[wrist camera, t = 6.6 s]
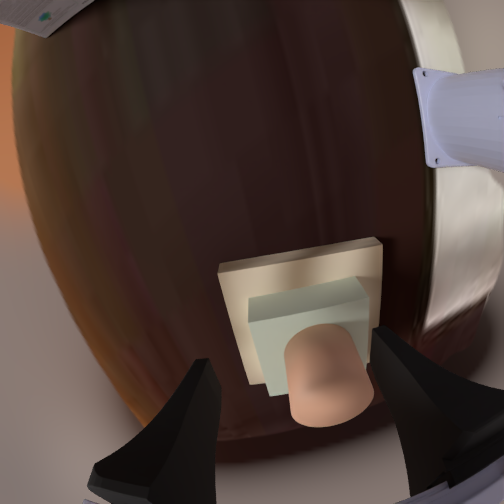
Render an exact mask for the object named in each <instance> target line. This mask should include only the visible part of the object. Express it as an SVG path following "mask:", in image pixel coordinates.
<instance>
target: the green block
mask: <svg viewBox="0 0 504 504" xmlns="http://www.w3.org/2000/svg"><path fill="white" fill-rule="evenodd" d="M248 324H249V328H250V331H251V335H252V338H253V342H254V345H255V348H256V352H257V355H258V359H259V362H260V365H261V369H262V372H263V375H264V379H265V382H266V385H267V388H268V392H269V395H270V396H275V395H282V394H287V393H289V391H288V383H287V375H286V367H285V359H284V351H285V347H286V345H287V343H288V342H289V340H290V339H291V338H292V337H293V336H294V335H295V334H297V333H298V332H300V331H301V330H303V329H305V328H307V327H310V326H313V325H317V324H335V325H338V326H341V327H343V328H345V329H346V330H347V331H348V332H349V333H350V335H351V337H352V339H353V342H354V344H355V346H356V349H357V351H358V353H359V355H360V358H361V360H362V363H363V365H364V367H365V370H366V363H367V349H368V330H369V296H368V295H367V293H366V292H365V290H364V288H363V287H362V285H361V284H360V282H359V281H358V279H357V278H356V277H355V276H353V277H348V278H344V279H339V280H335V281H330V282H326V283H321V284H316V285H312V286H307V287H302V288H297V289H292V290H287V291H282V292H277V293H272V294H267V295H262V296H256V297H251V298H248Z"/></svg>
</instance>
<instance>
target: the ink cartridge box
mask: <svg viewBox="0 0 504 504" xmlns="http://www.w3.org/2000/svg"><path fill="white" fill-rule="evenodd" d="M93 1H94V0H0V23H1V24H4V25H8V26H11V27H15V28H18V29H21V30H24V31H27V32H30V33H33V34H36V35H39V36H42V37H44V38H47V37H48V36H49V35H51V34H52V33H53V32H54V31H55V30H56V29H57V28H59V27H60V26H61V25H62V24H63V23H65V22H66V21H67V20H68V19H70V18H71V17H72V16H74V15H75V14H76V13H78V12H79V11H80V10H82V9H83V8H84V7H86V6H87V5H89V4H90V3H91V2H93Z"/></svg>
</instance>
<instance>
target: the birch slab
mask: <svg viewBox="0 0 504 504" xmlns="http://www.w3.org/2000/svg"><path fill="white" fill-rule="evenodd" d="M382 260H383V245H382V244H381V243H380V242H379V241H378V240H377V239H376V238H375V237H370V238H364V239H358V240H353V241H347V242H341V243H336V244H330V245H324V246H319V247H313V248H307V249H301V250H296V251H290V252H284V253H278V254H272V255H267V256H261V257H255V258H249V259H243V260H237V261H231V262H225V263H220V265H219V270H218V277H219V281H220V285H221V288H222V292H223V296H224V299H225V303H226V306H227V310H228V313H229V317H230V320H231V324H232V327H233V331H234V334H235V338H236V341H237V344H238V348H239V351H240V354H241V358H242V361H243V364H244V367H245V371H246V374H247V377H248V380H249V384H250V385H252V384H260V383H266V382H265V379H264V375H263V372H262V369H261V365H260V362H259V359H258V355H257V352H256V348H255V345H254V342H253V338H252V335H251V331H250V328H249V324H248V298H251V297H256V296H262V295H267V294H272V293H277V292H282V291H287V290H292V289H297V288H302V287H307V286H312V285H316V284H321V283H326V282H330V281H335V280H339V279H344V278H348V277H353V276H355V277H356V278H357V279H358V281H359V282H360V284H361V285H362V287H363V288H364V290H365V292H366V293H367V295H368V296H369V330H368V349H367V363H369V362H370V361H369V360H370V349H371V337H372V328H376V327H379V316H380V304H381V288H382Z"/></svg>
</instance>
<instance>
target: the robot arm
mask: <svg viewBox="0 0 504 504" xmlns="http://www.w3.org/2000/svg"><path fill="white" fill-rule="evenodd" d="M423 72H424V73H425V76H424V75H423ZM413 76H414V80H415V85H416V90H417V95H418V101H419V107H420V113H421V120H422V127H423V135H424V145H425V156H426V164H427V165H428V166H429V167H432V168H436V167H453V166H477V165H478V166H482V167H485V168H489V169H493V170H496V171H500V172H504V68H499V69H491V70H483V71H476V72H469V73H463V74H456V73H450V72H445V71H439V70H433V69H426V68H415V69H414V70H413ZM436 158H437V163H436V162H435V159H436ZM369 361H370V364H371V367H372V370H373V373H374V376H375V379H376V381H377V384H378V386H379V388H380V390H381V392H382V394H383V396H384V399H385V401H386V403H387V405H388V407H389V409H390V412H391V414H392V416H393V419H394V421H395V424H396V428H397V431H398V435H399V438H400V442H401V446H402V450H403V454H404V459H405V464H406V469H407V475H408V482H409V490H410V496H411V497H410V498H408V499H405V500H403V501H400V502H397V503H395V504H499V503H501V502H502V501H503V500H504V390H501V389H496V388H491V387H488V386H484V385H481V384H478V383H475V382H472V381H470V380H467V379H465V378H463V377H460V376H458V375H456V374H454V373H452V372H449V371H448V370H446V369H444V368H442V367H441V366H439V365H437V364H436V363H434V362H433V361H431V360H429V359H428V358H426V357H425V356H424V355H422V354H421V353H419V352H418V351H417V350H415V349H414V348H413V347H411V346H410V345H409V344H408V343H406V342H405V341H404V340H403V339H401V338H400V337H399V336H398V335H396V334H395V333H394V332H393V331H391V330H390V329H389V328H388V327H386V326H385V325H383V326H379V327H376V328H372V337H371V349H370V360H369ZM220 413H221V385H220V383H219V381H218V379H217V376H216V374H215V372H214V369H213V367H212V365H211V363H210V360H209V358H206V359H196V360H195V361H194V363H193V364H192V366H191V367H190V369H189V370H188V372H187V374H186V375H185V377H184V378H183V380H182V381H181V383H180V385H179V386H178V387H177V389H176V390H175V392H174V393H173V395H172V396H171V398H170V399H169V400H168V402H167V403H166V404H165V405H164V407H163V408H162V409H161V411H160V412H159V413H158V414H157V415H156V416H155V418H154V419H153V420H152V421H151V422H150V423H149V424H148V425H147V426H146V427H145V428H144V429H143V430H142V431H141V432H140V433H139V434H138V435H136V436H135V437H134V438H133V439H132V440H131V441H129V442H128V443H127V444H125V445H124V446H123V447H121V448H120V449H118V450H117V451H115V452H114V453H112V454H111V455H109V456H107V457H106V458H104V459H102V460H100V461H99V462H97V463H95V464H94V467H93V469H92V473H91V475H90V478H89V481H88V484H87V487H88V489H89V490H90V491H92V492H93V493H94V494H96V495H98V496H99V497H101V498H103V499H104V500H106V501H108V502H110V503H111V504H216V489H215V451H216V442H217V435H218V428H219V420H220ZM83 504H98V503H95V502H92V501H89V500H87V499H84V501H83Z"/></svg>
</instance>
